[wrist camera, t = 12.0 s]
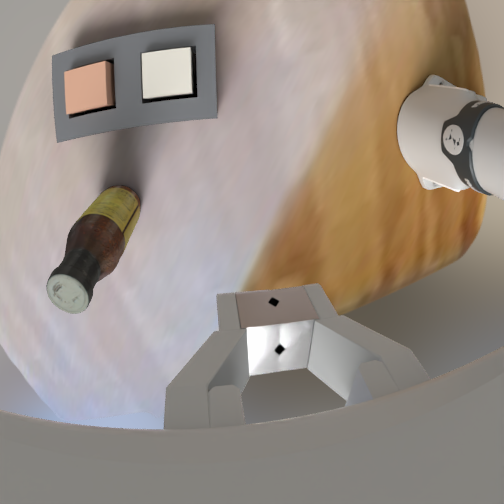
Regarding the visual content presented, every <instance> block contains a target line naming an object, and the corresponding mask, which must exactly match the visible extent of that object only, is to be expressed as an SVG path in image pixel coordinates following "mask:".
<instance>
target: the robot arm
mask: <svg viewBox="0 0 504 504" xmlns="http://www.w3.org/2000/svg"><path fill="white" fill-rule="evenodd" d="M397 135H398V142H399V146H400V150H401V152H402V155H403V157H404V159H405V160H406V162H407V163H408V164H409V166H410V167H411V168H412V169H413V170H414V171H415V172H416V173H417V175H418V178H419V180H420V183H421V185H422V187H423V188H425V189H428V190H431V189H435V188H439V187H446V188H449V189H451V190H454V191H457V192H459V191H460V190H464V189H467V188H472V189H473V190H475V191H477V192H479V193H484V194H486V195H495V196H497V197H498V198H501V199H503V200H504V108H503V107H502V106H500V105H498V104H495V103H493V102H489V101H487V99H486V98H485V97H483V96H481V95H477V94H476V93H475V92H473V91H471V90H468V89H465V88H459V87H456V86H454V85H453V84H451V83H449V82H448V81H446V80H444V79H443V78H441V77H439V76H437V75H430V76H429V77H428V78H427V79H426V81H425V83H424V84H423V86H422V87H420V88H419V89H417V90H416V91H414V92H413V93H411V94H410V95H409V96H408V97H407V99H406V100H405V102H404V103H403V105H402V108H401V110H400V113H399V117H398V124H397ZM217 310H218V323H219V331H215V332H213V333H212V334H211V336H210V337H209V338H208V339H207V340H206V342H205V343H204V344H203V345H202V346H201V348H200V349H199V350H198V351H197V352H196V353H195V355H194V356H193V357H192V358H191V359H190V360H189V362H188V363H187V364H186V365H185V366H184V368H183V369H182V370H181V371H180V372H179V373H178V375H177V376H176V377H175V378H174V379H173V380H172V382H171V383H170V384H169V385H168V386H167V387H166V399H165V415H164V429H163V430H161V429H156V430H155V429H123V428H108V427H96V426H87V425H78V424H70V423H63V422H57V421H51V420H45V419H39V418H34V417H29V416H25V415H20V414H16V413H12V412H7V411H3V410H0V504H504V346H503V347H501V348H499V349H497V350H495V351H493V352H491V353H489V354H487V355H485V356H483V357H481V358H479V359H477V360H475V361H473V362H471V363H469V364H467V365H464V366H462V367H460V368H458V369H455V370H453V371H450V372H448V373H446V374H443V375H441V376H439V377H436V378H434V379H430V377H429V376H428V374H427V373H426V371H425V370H424V368H423V367H422V365H421V364H420V362H419V361H418V359H417V358H416V357H415V355H414V354H413V353H412V351H411V349H409V348H407V347H405V346H403V345H401V344H399V343H397V342H395V341H393V340H391V339H389V338H387V337H385V336H383V335H381V334H379V333H377V332H375V331H373V330H371V329H369V328H367V327H365V326H363V325H361V324H359V323H357V322H355V321H353V320H351V319H349V318H347V317H345V316H344V315H342V316H338V314H337V312H336V311H335V309H334V307H333V306H332V304H331V302H330V301H329V299H328V297H327V295H326V294H325V292H324V290H323V289H322V287H321V285H320V284H318V283H316V284H310V285H303V286H299V287H291V288H283V289H275V290H260V291H248V292H235V293H223V294H217ZM301 368H308V369H309V370H310V371H311V372H312V373H313V374H314V375H316V376H317V377H318V378H319V379H320V380H322V381H323V382H324V383H325V384H327V385H328V386H329V387H330V388H331V389H333V390H334V391H335V392H336V393H338V394H339V395H340V396H341V397H343V398H344V399H345V400H346V401H347V402H346V404H345V407H342V408H338V409H334V410H329V411H325V412H320V413H315V414H311V415H306V416H300V417H296V418H289V419H284V420H277V421H270V422H264V423H256V424H247V425H246V423H245V417H244V411H243V406H242V400H241V393H242V391H243V389H244V387H245V385H246V383H247V381H248V379H249V376H252V375H259V374H265V373H272V372H277V371H286V370H293V369H301Z"/></svg>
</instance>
